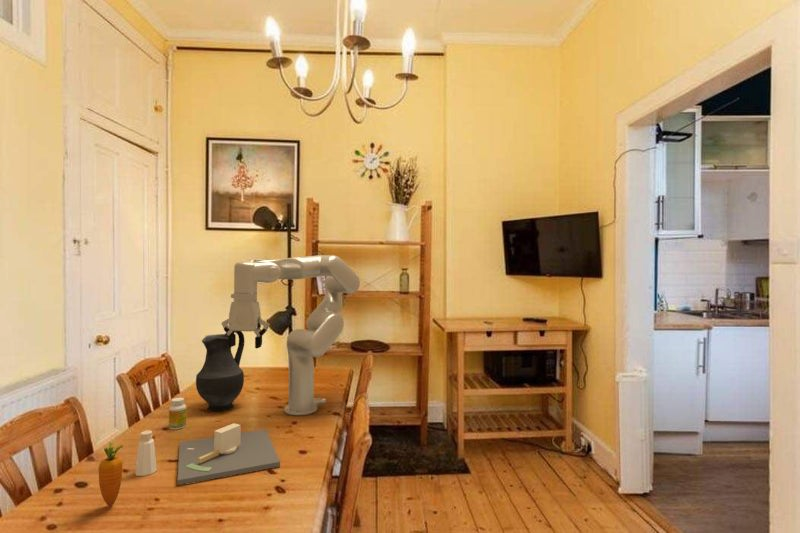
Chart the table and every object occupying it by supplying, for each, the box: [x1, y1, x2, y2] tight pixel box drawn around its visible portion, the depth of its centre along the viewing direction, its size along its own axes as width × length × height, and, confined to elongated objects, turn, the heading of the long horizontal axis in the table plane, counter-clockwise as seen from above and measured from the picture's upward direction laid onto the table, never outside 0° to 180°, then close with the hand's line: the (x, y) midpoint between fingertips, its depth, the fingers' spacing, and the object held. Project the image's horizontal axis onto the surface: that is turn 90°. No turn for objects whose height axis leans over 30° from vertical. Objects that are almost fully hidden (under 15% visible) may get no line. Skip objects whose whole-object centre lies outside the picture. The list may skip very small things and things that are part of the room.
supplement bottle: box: [168, 397, 187, 431], centre depth 153 cm, size 5×5×10 cm
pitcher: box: [195, 331, 245, 413], centre depth 174 cm, size 17×21×30 cm
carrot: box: [98, 442, 124, 507], centre depth 104 cm, size 5×5×15 cm
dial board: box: [176, 429, 281, 486], centre depth 131 cm, size 26×26×2 cm
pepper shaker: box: [134, 429, 158, 477], centre depth 121 cm, size 5×5×11 cm
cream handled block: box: [198, 422, 242, 463], centre depth 128 cm, size 13×5×7 cm, turn 151°
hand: (245, 346), depth 152 cm, fingers open, 9 cm apart
